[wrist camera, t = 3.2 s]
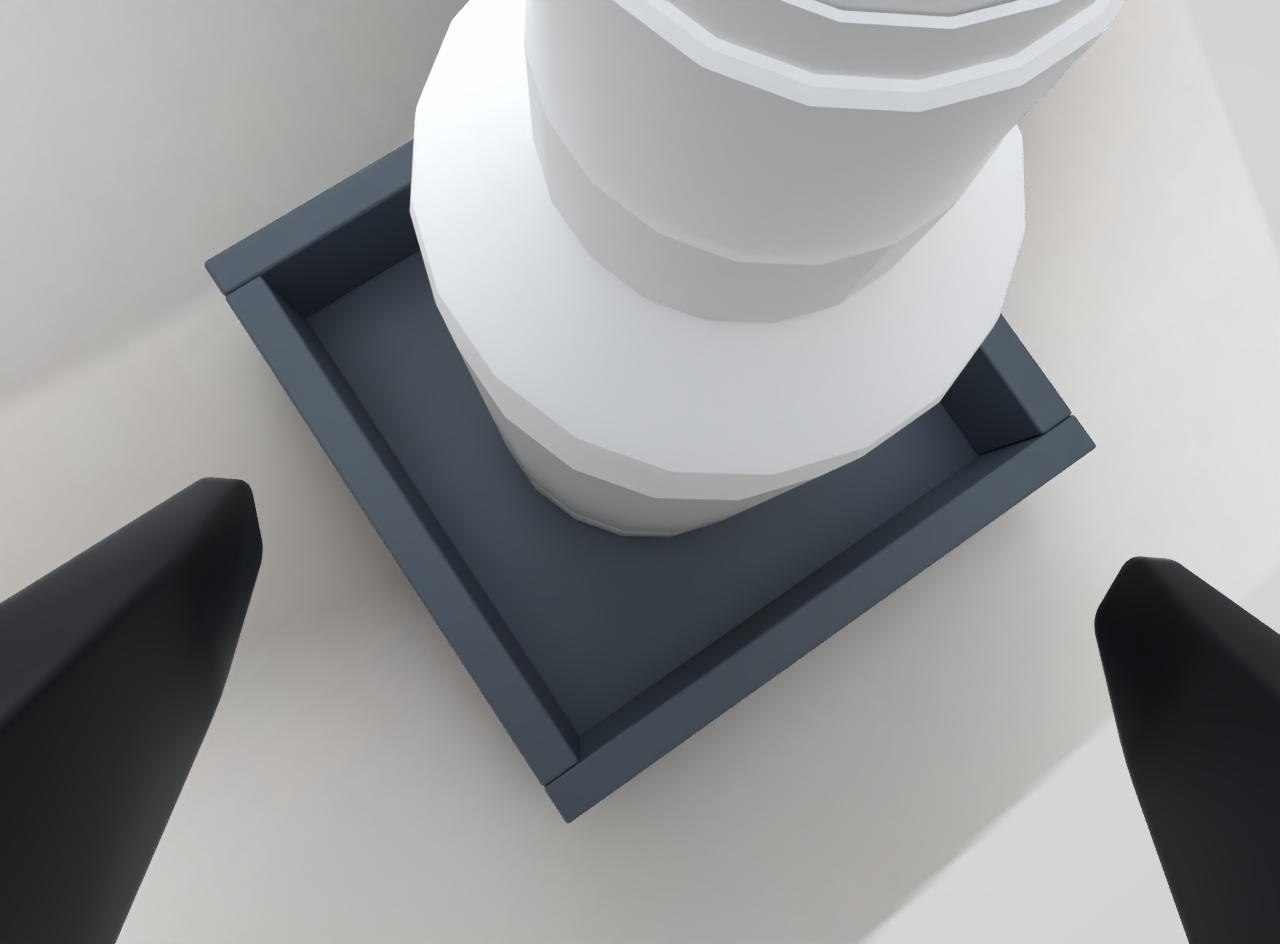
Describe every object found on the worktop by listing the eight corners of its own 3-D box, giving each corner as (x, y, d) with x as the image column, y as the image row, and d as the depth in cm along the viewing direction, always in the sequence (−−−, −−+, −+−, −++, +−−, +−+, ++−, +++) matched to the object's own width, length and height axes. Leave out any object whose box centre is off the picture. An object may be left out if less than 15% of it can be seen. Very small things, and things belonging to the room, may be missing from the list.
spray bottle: (478, 260, 21) (-90, -1629, 3) (771, 229, 21) (1723, -1517, 4) (515, 558, 20) (33, 336, 2) (817, 518, 21) (2312, 91, 3)
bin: (1009, 470, 22) (1098, 446, 18) (569, 781, 20) (567, 825, 17) (712, 51, 23) (738, -55, 19) (267, 319, 21) (200, 261, 17)
